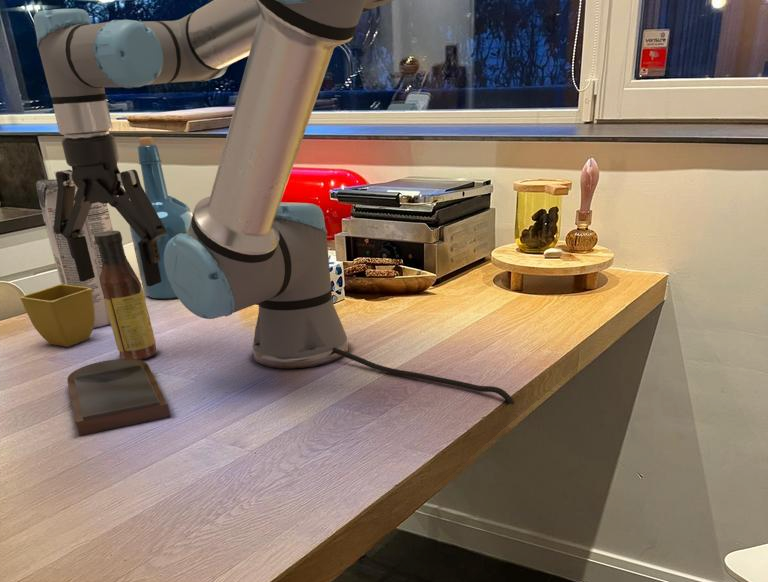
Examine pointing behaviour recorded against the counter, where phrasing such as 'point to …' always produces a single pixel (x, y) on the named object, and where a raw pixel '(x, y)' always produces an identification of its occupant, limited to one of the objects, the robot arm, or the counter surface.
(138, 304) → the sauce bottle
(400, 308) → the counter surface
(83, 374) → the board
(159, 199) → the wine bottle
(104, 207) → the juice carton
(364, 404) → the counter surface
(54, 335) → the flower pot
